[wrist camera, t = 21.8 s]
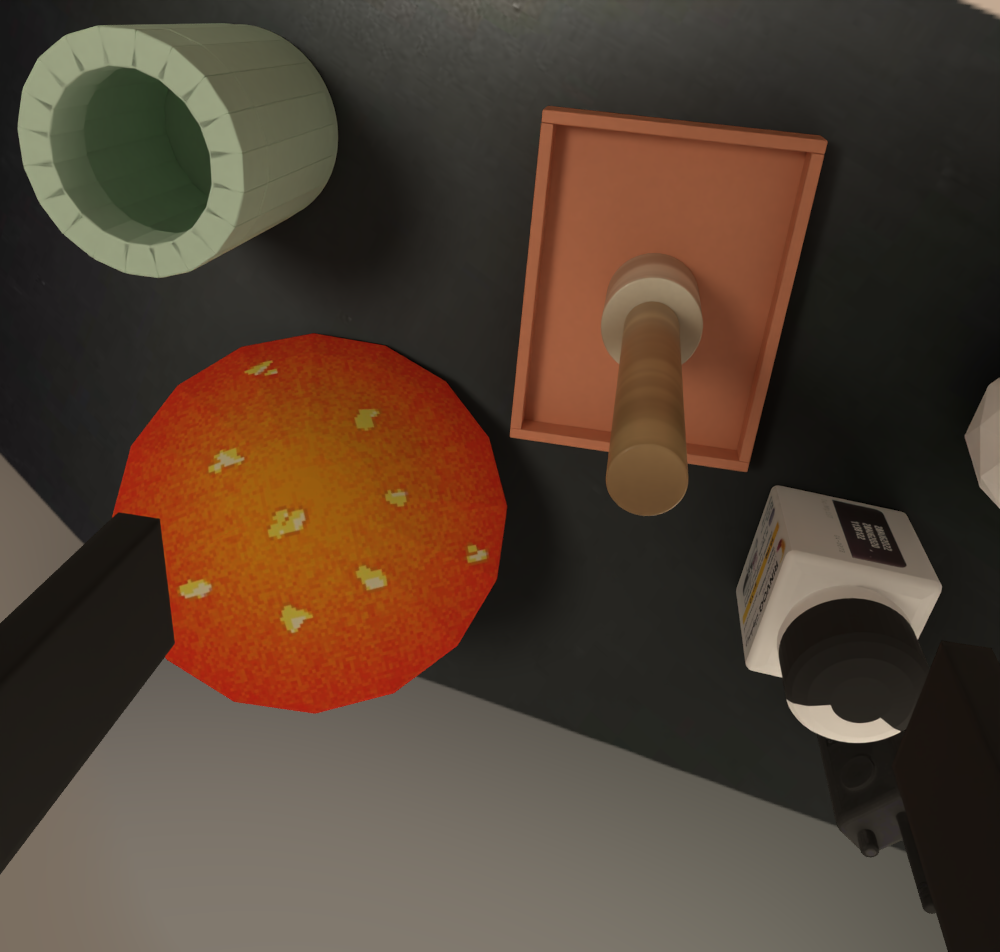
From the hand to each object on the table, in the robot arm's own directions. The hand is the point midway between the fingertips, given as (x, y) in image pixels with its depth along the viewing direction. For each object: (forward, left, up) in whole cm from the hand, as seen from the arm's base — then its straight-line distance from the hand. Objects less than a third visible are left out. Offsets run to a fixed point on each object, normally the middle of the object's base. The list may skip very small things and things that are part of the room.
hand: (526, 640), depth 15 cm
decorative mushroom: (+15, -14, -35) cm, 41 cm away
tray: (+3, +2, -35) cm, 35 cm away
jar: (-3, -20, -35) cm, 40 cm away
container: (+17, +14, -35) cm, 42 cm away
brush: (+4, +2, -35) cm, 35 cm away
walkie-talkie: (+28, +19, -35) cm, 49 cm away
